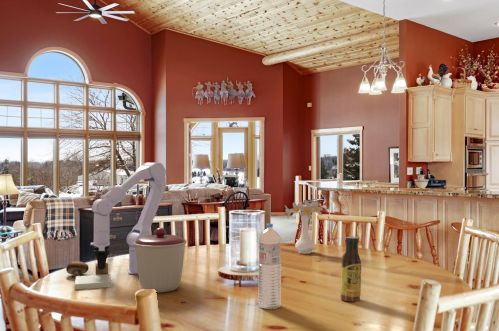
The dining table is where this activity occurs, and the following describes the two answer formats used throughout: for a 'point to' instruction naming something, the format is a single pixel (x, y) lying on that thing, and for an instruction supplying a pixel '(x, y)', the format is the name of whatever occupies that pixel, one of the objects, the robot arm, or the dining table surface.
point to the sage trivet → (92, 281)
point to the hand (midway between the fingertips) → (101, 266)
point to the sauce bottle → (351, 271)
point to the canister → (160, 260)
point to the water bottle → (269, 269)
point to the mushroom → (77, 268)
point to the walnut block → (101, 270)
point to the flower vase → (304, 224)
